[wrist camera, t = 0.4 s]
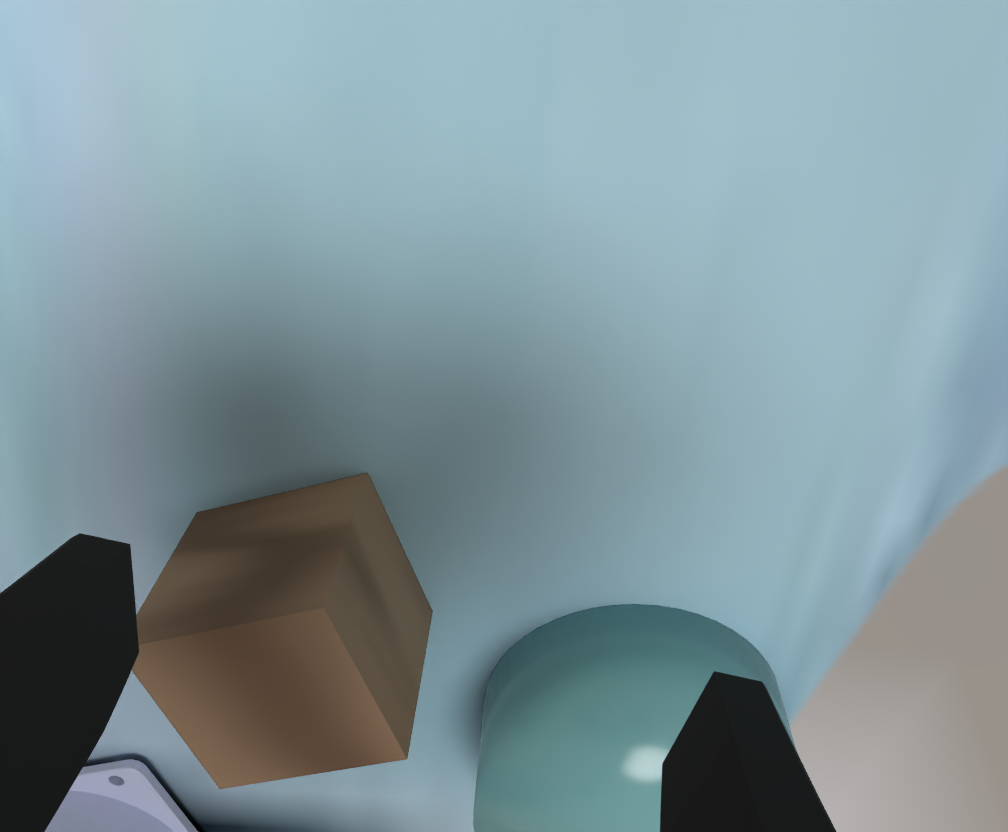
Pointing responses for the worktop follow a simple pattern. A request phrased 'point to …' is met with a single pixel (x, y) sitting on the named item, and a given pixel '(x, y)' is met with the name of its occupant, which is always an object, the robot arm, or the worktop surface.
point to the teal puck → (598, 716)
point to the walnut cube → (288, 635)
